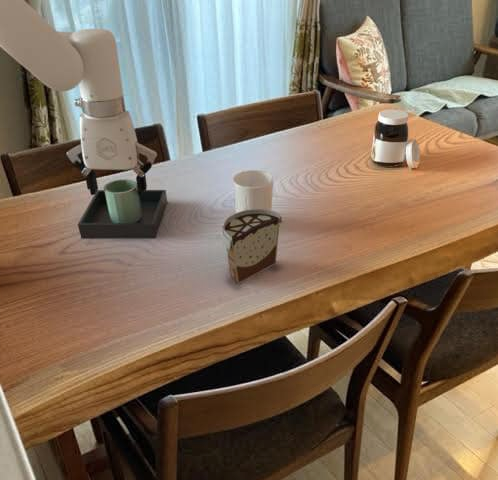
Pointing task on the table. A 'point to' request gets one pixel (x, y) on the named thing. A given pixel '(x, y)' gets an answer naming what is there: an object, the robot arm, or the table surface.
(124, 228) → the serving tray
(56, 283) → the table surface
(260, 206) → the white cup
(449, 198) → the table surface
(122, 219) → the green cup
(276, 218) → the food container
